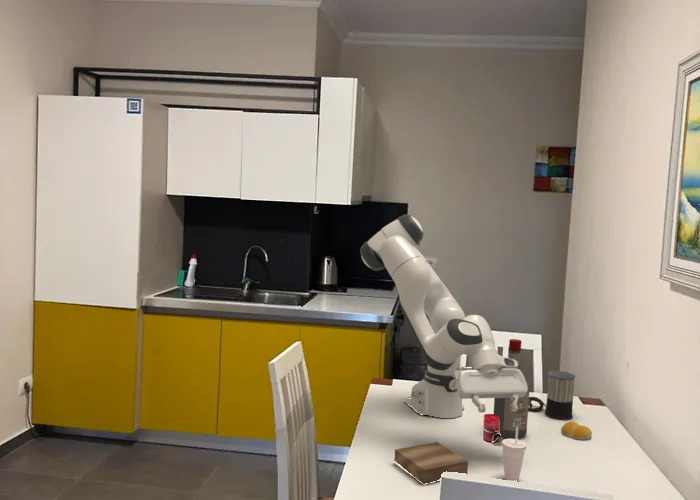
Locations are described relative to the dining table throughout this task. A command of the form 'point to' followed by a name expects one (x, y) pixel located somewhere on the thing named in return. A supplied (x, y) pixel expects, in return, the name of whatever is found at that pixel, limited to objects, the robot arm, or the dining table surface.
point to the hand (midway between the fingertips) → (498, 411)
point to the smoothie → (513, 457)
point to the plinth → (430, 461)
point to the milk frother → (557, 396)
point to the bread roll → (576, 431)
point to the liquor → (502, 404)
